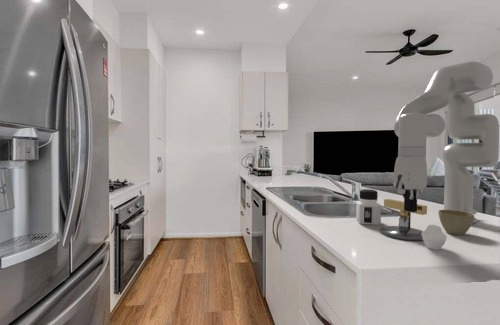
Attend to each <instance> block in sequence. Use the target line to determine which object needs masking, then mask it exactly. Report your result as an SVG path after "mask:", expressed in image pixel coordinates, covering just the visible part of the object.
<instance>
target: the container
mask: <svg viewBox="0 0 500 325" xmlns="http://www.w3.org/2000/svg"><path fill="white" fill-rule="evenodd" d="M355 203H356V210H355V211H356V212H355V213H356V214H355V219H356V221H357V222H358V223H359V224H360V225H373V226H374V225H375V226H381V224H382V221H381V220H382V216H381V215H382V205H381V204H380V203H378V191H377V190H376V189H370V188H364V189H360V190H359V200H357V201H355Z"/></svg>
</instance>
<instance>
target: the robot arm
mask: <svg viewBox="0 0 500 325" xmlns="http://www.w3.org/2000/svg"><path fill="white" fill-rule="evenodd" d="M493 79H494V75H493V71H492V70H491V68H490V67H489V66H488V65H487V64H483V63H481V62H478V61H467V62H462V63H458V64H453V65H449V66H443V67H441V68H439V69H437V70H436V71H435V72H433V75H432V77H431V78H430V81H429V82H428V84H427V87H426V89H425V91H423V93H422V94H420V95H419V96H416V97H415V98H414V99H413V100H410V102H408V103H406V104H405V105H404V106H403V107H402V108H401V110H400V111H399V113H398V115H397V117H396V119H395V122H394V128H393V129H394V130H393V131H394V133H395V135H396V137H398V145H397V146H398V149H397V150H398V151H397V157H396V158H395V159H396V160H395V163H394V170H393V171H394V172H393V178H392V179H393V181H392V183H393V184H392V185H393V188H395V189H397V191H396V192H397V193H398V194H401V195H402V198H403V202H404V210H405V211H408V212H417V204H418V200H419V196H420V194H421V193H423V192H424V191H425V189H426V187H427V185H428V165H427V138H429V139H430V138H436V137H438V136H440V135H442V134H443V132H444V131H445V130H446V129H445V128H446V122H445V119H444V117H443V116H441V115H439V114H437V113H433V112H436V111H438V110H441V109H444V108H446V106H447V134H448V137H449V138H450V139H452V140H457V141H458V140H460V141H461V140H464V141H465V140H481V142H456V143H455V142H453V143H449V144H447V145H446V146H445V147H444V148H443V150H442V158H443V159H442V160H443V164H444V188H443V189H444V191H443V192H444V193H443V210H458V211H464V212H469V213H472V214H474V215H476V214H477V213H478V210H476V209H474V186H475V185H474V184H475V180H474V176H473V173H472V172H471V171H470V170H469V169H468V168H493V167H495V166H496V165H497V164H498V161H499V156H500V154H499V152H500V123H499V119H498V117H497V116H496V115H494V114H491V113H484V114H483V113H482V114H475V103H474V101H473V98H471V97H470V96H469V95H468V94H467V93H470V92H479V91H485V90H487V89H488V88H489V87H490V86H491V85H492V83H493ZM467 167H468V168H467ZM476 223H478V219H477V218H476V217H474V220H473V222H472V224H476Z"/></svg>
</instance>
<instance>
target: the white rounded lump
mask: <svg viewBox="0 0 500 325" xmlns="http://www.w3.org/2000/svg"><path fill="white" fill-rule="evenodd" d="M422 231H423V232H422V237H423V238H422V239H423V243H424V244H425V246H426V248H427V249H429V250H432V251H433V250H434V251H440V250H441V249H442V247H443V246H444V245H445V243H446V241H447V235H446V234H445V233H444V232H443V231H442V228H441V227H440V226H439V225H437V224H429V225H427V226H426V229H424V230H422Z"/></svg>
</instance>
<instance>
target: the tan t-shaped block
mask: <svg viewBox="0 0 500 325" xmlns="http://www.w3.org/2000/svg"><path fill="white" fill-rule="evenodd" d="M383 207H384V208H387V209H394V210H398V211H399V212H400V213H398V217H399V218H400V217H401V218H409V216H408V211H405V210H404V200H403V201H401V200H396V199H390V198H384V199H383ZM411 213H412V214H416V215H421V216H424V215H428V205H423V204H418V203H417V212H411Z"/></svg>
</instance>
